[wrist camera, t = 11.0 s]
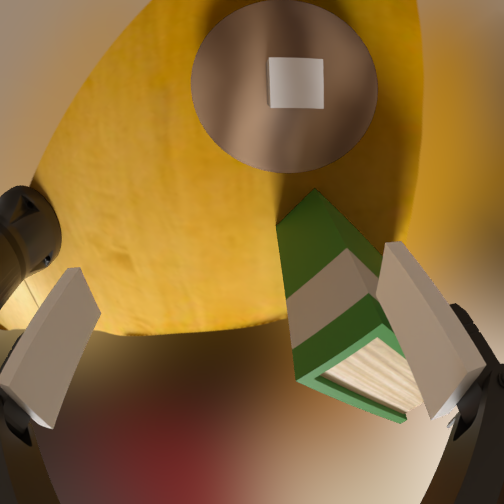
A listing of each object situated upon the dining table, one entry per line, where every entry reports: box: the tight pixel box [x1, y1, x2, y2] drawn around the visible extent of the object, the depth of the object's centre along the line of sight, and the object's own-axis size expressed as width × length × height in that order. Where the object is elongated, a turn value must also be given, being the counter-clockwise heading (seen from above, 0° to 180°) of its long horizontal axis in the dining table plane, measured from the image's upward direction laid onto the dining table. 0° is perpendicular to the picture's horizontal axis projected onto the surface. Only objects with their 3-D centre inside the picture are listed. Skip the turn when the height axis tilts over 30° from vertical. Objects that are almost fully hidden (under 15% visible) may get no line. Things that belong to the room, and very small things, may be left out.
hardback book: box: [276, 188, 424, 424], centre depth 31 cm, size 18×7×24 cm, turn 49°
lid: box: [191, 0, 378, 173], centre depth 22 cm, size 18×18×7 cm
